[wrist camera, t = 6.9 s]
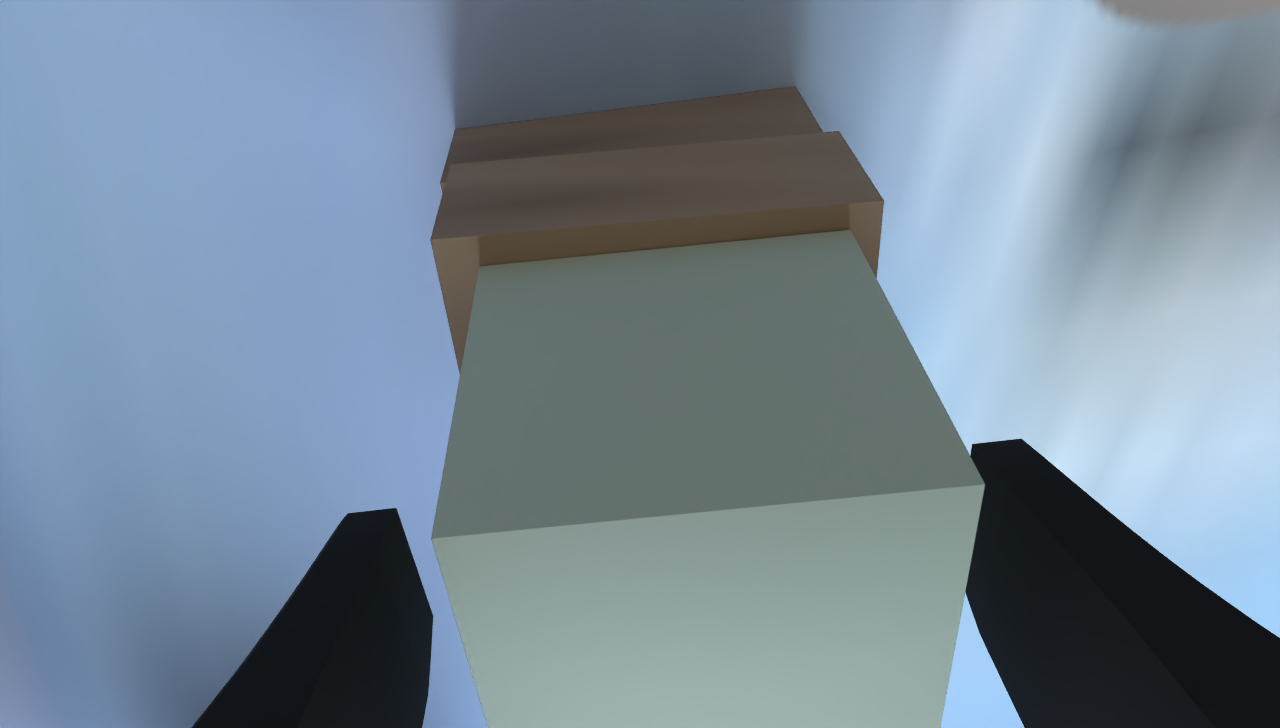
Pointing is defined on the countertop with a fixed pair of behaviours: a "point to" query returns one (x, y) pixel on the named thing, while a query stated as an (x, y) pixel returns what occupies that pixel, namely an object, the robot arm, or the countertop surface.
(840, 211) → the tower top
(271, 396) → the countertop surface
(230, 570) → the countertop surface
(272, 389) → the countertop surface
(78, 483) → the countertop surface
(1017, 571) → the robot arm
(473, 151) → the block
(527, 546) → the cube
